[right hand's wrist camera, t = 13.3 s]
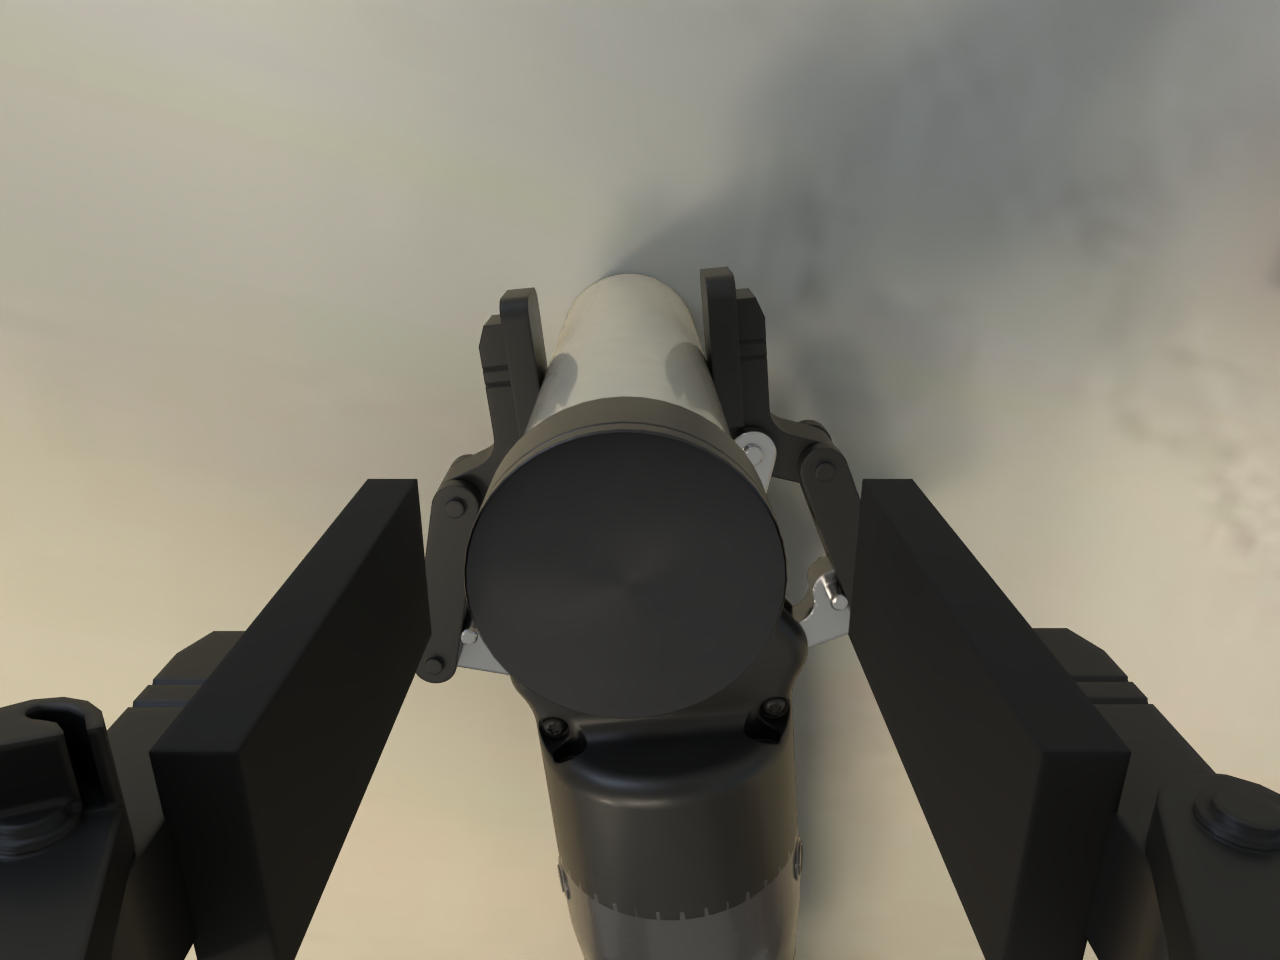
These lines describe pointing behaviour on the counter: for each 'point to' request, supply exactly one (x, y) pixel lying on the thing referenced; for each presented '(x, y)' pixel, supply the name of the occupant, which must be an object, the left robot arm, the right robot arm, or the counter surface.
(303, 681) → the right robot arm
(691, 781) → the left robot arm
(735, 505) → the lid
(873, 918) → the counter surface
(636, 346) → the white cylinder
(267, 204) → the counter surface
